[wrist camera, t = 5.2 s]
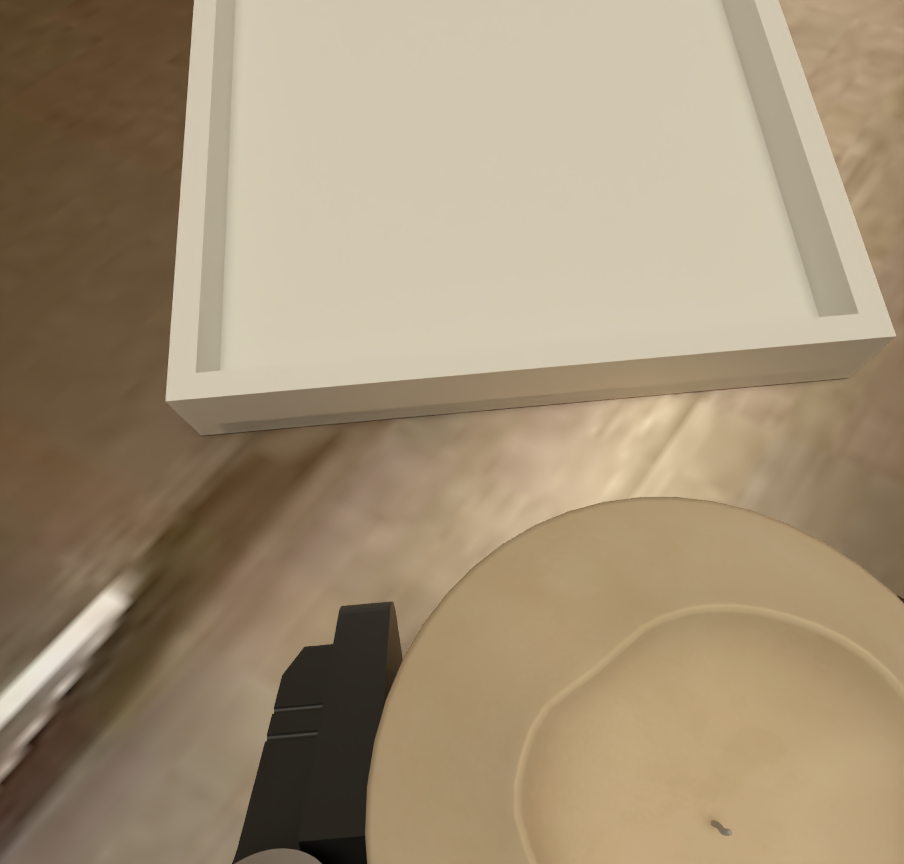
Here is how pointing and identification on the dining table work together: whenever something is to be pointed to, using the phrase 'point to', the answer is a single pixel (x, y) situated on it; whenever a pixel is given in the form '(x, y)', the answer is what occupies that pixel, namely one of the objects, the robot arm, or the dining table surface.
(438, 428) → the dining table surface
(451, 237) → the tray
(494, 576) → the candle
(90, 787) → the dining table surface
